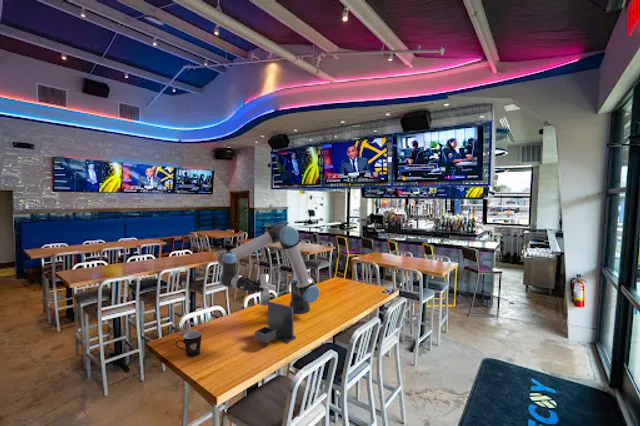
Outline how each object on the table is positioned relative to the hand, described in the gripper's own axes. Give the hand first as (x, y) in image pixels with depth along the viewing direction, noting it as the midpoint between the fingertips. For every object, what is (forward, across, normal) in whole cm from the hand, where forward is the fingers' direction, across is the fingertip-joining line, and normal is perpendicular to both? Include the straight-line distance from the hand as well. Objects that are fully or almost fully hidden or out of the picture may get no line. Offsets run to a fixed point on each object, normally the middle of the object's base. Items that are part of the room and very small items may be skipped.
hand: (271, 289), depth 163 cm
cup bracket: (-5, -6, -32) cm, 33 cm away
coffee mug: (-31, +28, -32) cm, 53 cm away
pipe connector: (-45, +20, -32) cm, 59 cm away
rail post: (-5, 0, -9) cm, 10 cm away
